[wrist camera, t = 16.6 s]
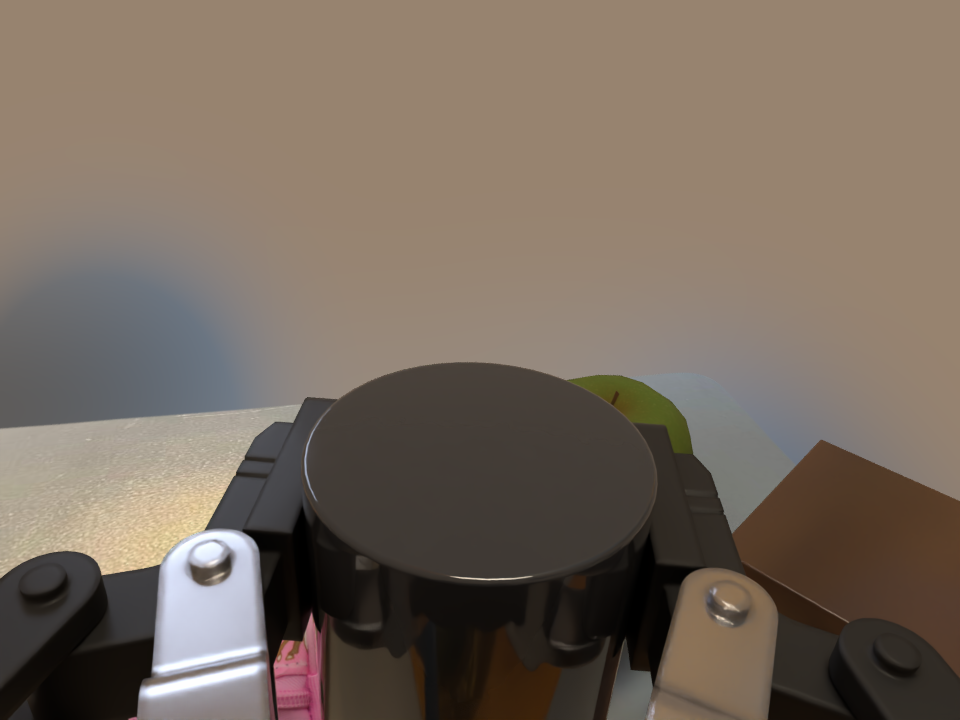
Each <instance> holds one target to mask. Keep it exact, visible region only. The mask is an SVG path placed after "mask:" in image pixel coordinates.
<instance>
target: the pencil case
mask: <svg viewBox="0 0 960 720" xmlns="http://www.w3.org/2000/svg"><path fill="white" fill-rule="evenodd" d="M274 671H275V681H276V692H277V704H278V715H279V720H321V712H320V700H319V688H318V677H317V665H316V653H315V641H314V629H313V618H312V613H311V616H310V619H309V622H308V625H307V628H306V632H305V635H304V638H303V641H302V642H301V641H288V640H282V643H281V645H280V648H279V651H278V654H277V657H276V660H275V663H274ZM128 720H137V717H134V718H130V719H128Z"/></svg>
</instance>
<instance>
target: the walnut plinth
mask: <svg viewBox="0 0 960 720" xmlns="http://www.w3.org/2000/svg"><path fill="white" fill-rule="evenodd" d="M732 536H733V539H734V542H735V545H736V548H737V550H738V553H739V556H740V559H741V562H742V565H743V568H744V571H745V574H746V576H747V577H748V578H750V579H752V580H753V581H755V582H756V583H758V584H759V585H760V586H761V587H762V588H763V589H764V590H765V591H766V592H767V593H768V594H769V595H770V597H771V598H772V600H773V601H774V603H775V605H776V607H777V611H778V612H779V613H781V614H782V615H784V616H786V617H788V618H790V619H792V620H795V621H797V622H800V623H803V624H806V625H809V626H812V627H815V628H818V629H821V630H824V631H827V632H830V633H833V634H836V635H840V633H841V631H842V629H843V628H844V626H845V625H847V624H848V623H849V622H851V621H853V620H856V619H860V618H878V619H883V620H887V621H891V622H893V623H896V624H899V625H901V626H903V627H905V628H907V629H909V630H911V631H913V632H914V633H916V634H918V635H919V636H920V637H922V638H923V639H925V640H926V641H927V642H928V643H929V644H930V645H932V646H933V647H934V649H935V650H936V651H937V652H938V653H939V654H940V655H941V656H942V658H943V659H944V660H945V661H946V662H947V663H948V665H949V666H950V667H951V668H952V669H953V671H954V672H955V673H956V674H957V675H958V677H959V678H960V501H958V500H956V499H954V498H952V497H949V496H947V495H945V494H942V493H940V492H938V491H936V490H934V489H931V488H929V487H927V486H925V485H922V484H920V483H918V482H915V481H913V480H911V479H909V478H907V477H904V476H902V475H900V474H897V473H895V472H893V471H891V470H889V469H886V468H884V467H882V466H879V465H877V464H875V463H872V462H871V461H868V460H866V459H864V458H862V457H859V456H857V455H855V454H853V453H850V452H848V451H846V450H844V449H841V448H839V447H837V446H835V445H832V444H830V443H828V442H826V441H823V440H820V441H819V442H818V443H817V444H816V445H815V446H814V447H813V448H812V450H811V451H810V452H809V453H808V454H807V455H806V456H805V457H804V458H803V459H802V460H801V461H800V462H799V463H798V464H797V465H796V467H795V468H794V469H793V470H792V471H791V472H790V473H789V474H788V475H787V476H786V477H785V478H784V479H783V480H782V481H781V482H780V484H779V485H778V486H777V487H776V488H775V489H774V490H773V491H772V492H771V493H770V494H769V495H768V496H767V497H766V498H765V499H764V501H763V502H762V503H761V504H760V505H759V506H758V507H757V508H756V509H755V510H754V511H753V512H752V513H751V514H750V515H749V516H748V518H747V519H746V520H745V521H744V522H743V523H742V524H741V525H740V526H739V527H738V528H737V529H736V530H735V531H734V532H733V533H732Z"/></svg>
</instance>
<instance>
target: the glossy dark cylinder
mask: <svg viewBox="0 0 960 720" xmlns="http://www.w3.org/2000/svg"><path fill="white" fill-rule="evenodd" d="M300 472H301V488H302V500H303V511H304V523H305V535H306V547H307V559H308V570H309V582H310V594H311V606H312V618H313V629H314V641H315V653H316V665H317V677H318V688H319V700H320V712H321V720H607V716H608V711H609V707H610V703H611V698H612V694H613V689H614V685H615V680H616V676H617V672H618V667H619V663H620V658H621V654H622V650H623V645H624V641H625V636H626V632H627V627H628V623H629V619H630V614H631V610H632V605H633V601H634V596H635V592H636V588H637V583H638V579H639V574H640V570H641V566H642V561H643V557H644V552H645V548H646V543H647V539H648V535H649V530H650V526H651V521H652V517H653V513H654V508H655V504H656V498H657V491H658V477H657V469H656V466H655V462H654V459H653V455H652V453H651V451H650V449H649V447H648V445H647V443H646V441H645V439H644V438H643V436H642V435H641V433H640V432H639V431H638V429H637V428H636V427H635V426H634V425H633V424H632V423H631V421H630V420H629V419H628V418H627V417H626V416H625V415H623V414H622V413H621V412H620V411H619V410H617V409H616V408H615V407H614V406H613V405H611V404H610V403H608V402H607V401H605V400H604V399H602V398H601V397H599V396H597V395H596V394H594V393H592V392H590V391H588V390H586V389H585V388H583V387H580V386H578V385H576V384H574V383H571V382H569V381H567V380H564V379H561V378H558V377H555V376H552V375H549V374H546V373H542V372H538V371H535V370H531V369H526V368H521V367H516V366H510V365H501V364H493V363H477V362H456V363H441V364H432V365H425V366H419V367H414V368H409V369H404V370H400V371H397V372H394V373H390V374H387V375H384V376H381V377H379V378H377V379H374V380H371V381H369V382H367V383H365V384H363V385H361V386H359V387H357V388H355V389H353V390H352V391H350V392H349V393H347V394H346V395H344V396H342V397H341V398H339V399H338V400H337V401H336V402H335V403H333V404H332V405H331V406H330V407H329V408H328V409H327V410H326V411H325V412H324V413H323V414H322V415H321V416H320V418H319V419H318V420H317V421H316V423H315V425H314V426H313V428H312V429H311V431H310V433H309V435H308V437H307V440H306V442H305V445H304V447H303V451H302V456H301V462H300Z"/></svg>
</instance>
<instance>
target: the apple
mask: <svg viewBox="0 0 960 720" xmlns="http://www.w3.org/2000/svg"><path fill="white" fill-rule="evenodd" d="M567 381H569V382H571V383H574V384H576V385H578V386H580V387H583V388H585V389H586V390H588V391H590V392H592V393H594V394H596V395H597V396H599V397H601V398H602V399H604V400H605V401H607V402H608V403H610V404H611V405H613V406H614V407H615V408H616V409H617V410H619V411H620V412H621V413H622V414H623V415H625V416H626V417H627V418H628V419H629V420H630V421H631V422H634V423H647V424H660V425H665V426H666V427H667V430H668V434H669V437H670V441H671V444H672V448H673V451H674V453H683V454H693V450H692V444H691V438H690V434H689V430H688V426H687V422H686V419H685V418H684V416H683V415H682V414H681V413H680V411H679V410H678V409H677V408H676V406H675V405H674V404H673V403H672V402H671V401H670V400H668V399H667V398H665V397H664V396H662V395H661V394H659V393H658V392H656V391H655V390H653V389H652V388H650V387H649V386H647V385H645V384H644V383H642V382H639V381H636V380H633V379H630V378H627V377H623V376H616V375H613V376H612V375H595V376H588V377H582V378H577V379H571V380H567Z"/></svg>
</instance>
